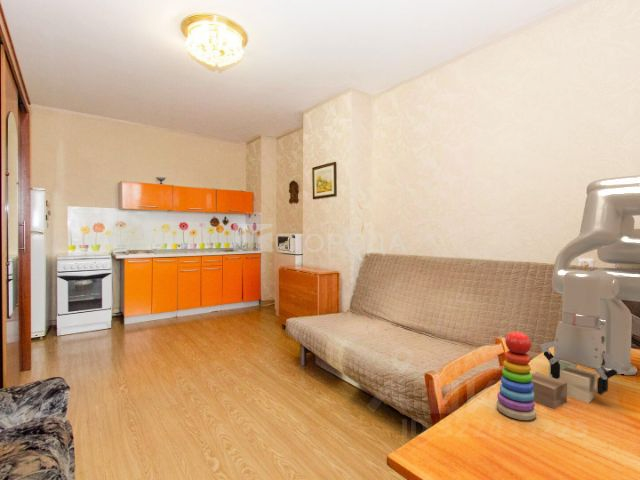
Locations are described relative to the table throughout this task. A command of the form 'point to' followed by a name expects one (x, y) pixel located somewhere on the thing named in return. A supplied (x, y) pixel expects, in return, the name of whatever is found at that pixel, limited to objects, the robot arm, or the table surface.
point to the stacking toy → (517, 380)
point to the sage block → (562, 366)
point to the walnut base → (549, 390)
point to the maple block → (579, 383)
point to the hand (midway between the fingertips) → (577, 385)
